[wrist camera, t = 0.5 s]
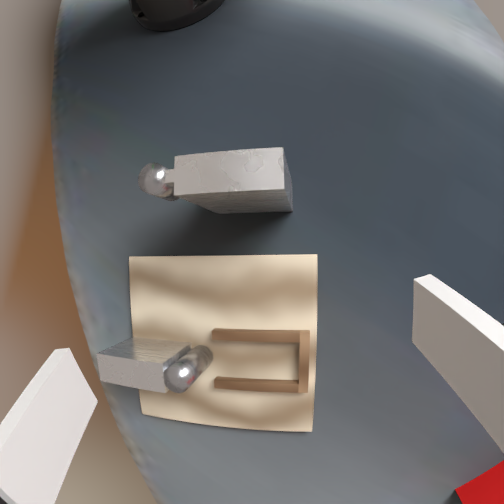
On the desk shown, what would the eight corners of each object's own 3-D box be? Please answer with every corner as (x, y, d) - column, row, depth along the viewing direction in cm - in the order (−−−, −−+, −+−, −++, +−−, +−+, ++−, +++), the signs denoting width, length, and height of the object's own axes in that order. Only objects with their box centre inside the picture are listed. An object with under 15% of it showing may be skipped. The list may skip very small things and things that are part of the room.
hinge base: (133, 256, 36) (123, 256, 34) (316, 254, 33) (317, 254, 31) (145, 410, 36) (137, 417, 34) (312, 427, 33) (311, 436, 31)
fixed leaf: (133, 336, 35) (96, 353, 28) (212, 343, 34) (188, 366, 26) (135, 360, 35) (100, 380, 28) (213, 369, 34) (190, 396, 26)
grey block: (191, 188, 35) (139, 161, 23) (292, 183, 33) (282, 147, 22) (191, 215, 35) (137, 198, 23) (292, 211, 33) (284, 189, 21)
